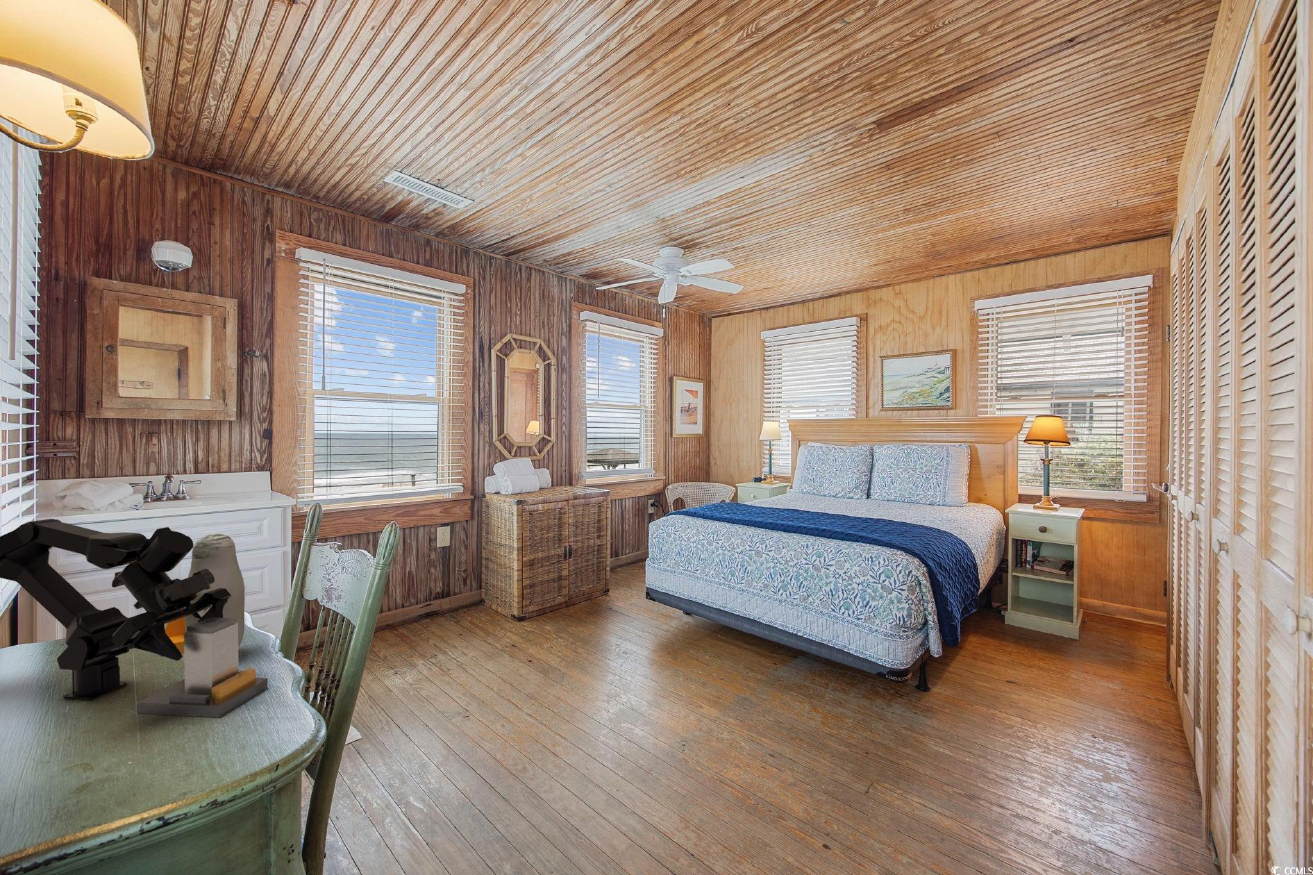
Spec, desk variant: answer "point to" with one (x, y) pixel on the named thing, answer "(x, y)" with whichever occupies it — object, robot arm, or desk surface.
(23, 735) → the desk surface
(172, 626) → the bracket
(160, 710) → the grey base plate
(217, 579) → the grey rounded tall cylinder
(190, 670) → the block
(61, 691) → the desk surface
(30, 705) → the desk surface
